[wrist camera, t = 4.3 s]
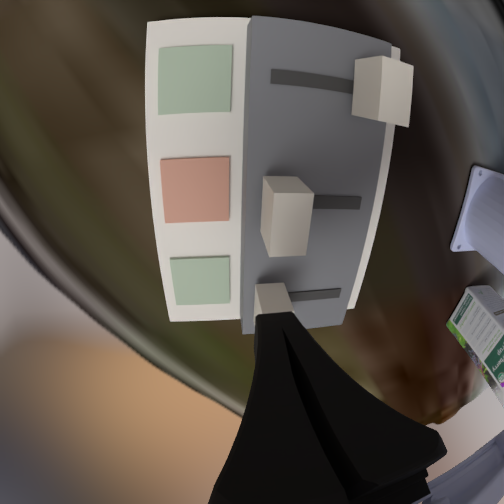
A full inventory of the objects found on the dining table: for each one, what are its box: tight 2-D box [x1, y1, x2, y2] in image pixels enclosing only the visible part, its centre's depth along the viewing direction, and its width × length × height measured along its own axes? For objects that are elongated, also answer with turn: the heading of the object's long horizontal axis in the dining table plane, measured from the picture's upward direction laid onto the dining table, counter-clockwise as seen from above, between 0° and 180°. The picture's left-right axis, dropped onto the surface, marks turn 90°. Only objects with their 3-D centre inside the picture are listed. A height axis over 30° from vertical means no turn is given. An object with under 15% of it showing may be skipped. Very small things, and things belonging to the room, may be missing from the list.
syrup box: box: [446, 285, 504, 408], centre depth 20 cm, size 6×6×14 cm
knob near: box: [351, 56, 413, 127], centre depth 10 cm, size 2×3×2 cm, turn 179°
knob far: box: [253, 283, 294, 326], centre depth 15 cm, size 2×3×2 cm, turn 179°
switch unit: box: [145, 16, 400, 334], centre depth 15 cm, size 14×19×3 cm
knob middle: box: [260, 176, 314, 257], centre depth 12 cm, size 2×3×2 cm, turn 179°
